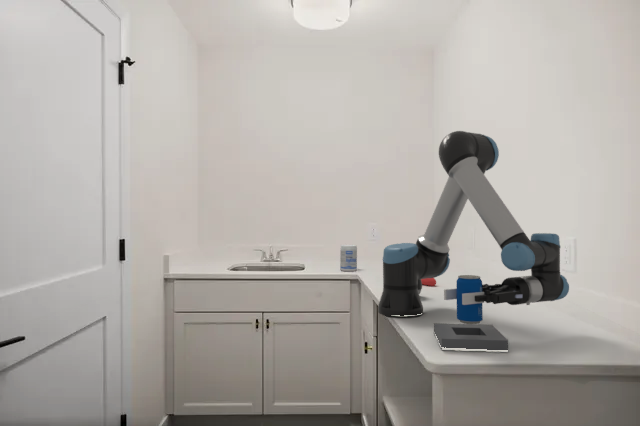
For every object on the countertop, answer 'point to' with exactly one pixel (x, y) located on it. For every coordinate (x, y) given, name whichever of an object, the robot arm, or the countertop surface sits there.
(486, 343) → the socket plate
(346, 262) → the supplement tub
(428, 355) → the countertop surface
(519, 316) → the countertop surface
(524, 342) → the countertop surface
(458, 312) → the beverage can
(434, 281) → the stress ball
